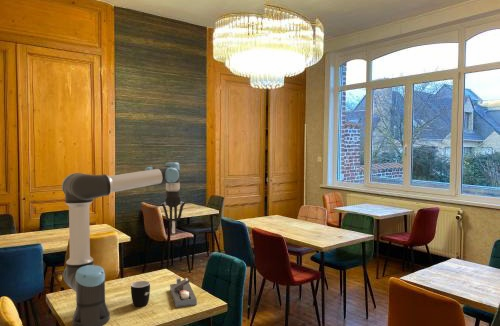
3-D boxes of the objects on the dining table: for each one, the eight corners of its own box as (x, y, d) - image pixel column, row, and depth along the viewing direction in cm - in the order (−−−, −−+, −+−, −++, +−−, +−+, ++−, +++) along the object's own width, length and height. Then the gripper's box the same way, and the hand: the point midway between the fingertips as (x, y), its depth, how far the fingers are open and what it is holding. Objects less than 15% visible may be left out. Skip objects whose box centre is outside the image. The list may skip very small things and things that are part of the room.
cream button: (181, 300, 181) (181, 294, 181) (180, 297, 184) (180, 291, 184) (189, 299, 182) (189, 293, 182) (188, 296, 186) (188, 290, 186)
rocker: (175, 290, 192) (174, 288, 191) (174, 287, 195) (173, 285, 195) (189, 281, 194) (188, 279, 194) (188, 279, 198) (187, 277, 197)
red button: (180, 299, 187) (180, 293, 187) (179, 296, 190) (179, 290, 190) (187, 298, 188) (187, 292, 188) (186, 295, 191) (186, 289, 191)
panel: (175, 307, 178) (175, 298, 178) (170, 289, 201) (170, 281, 201) (196, 304, 182) (196, 295, 181) (188, 287, 204) (188, 279, 204)
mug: (145, 308, 178) (145, 287, 177) (127, 307, 179) (127, 286, 179) (155, 298, 189) (155, 279, 189) (138, 297, 191) (138, 278, 190)
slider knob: (177, 284, 199) (176, 279, 199) (176, 282, 202) (176, 277, 202) (180, 284, 200) (180, 278, 200) (180, 282, 203) (180, 277, 203)
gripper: (161, 191, 200) (162, 235, 201) (185, 190, 204) (186, 233, 205) (160, 190, 207) (160, 232, 208) (183, 189, 212) (184, 230, 212)
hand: (173, 232), depth 207 cm, fingers closed
